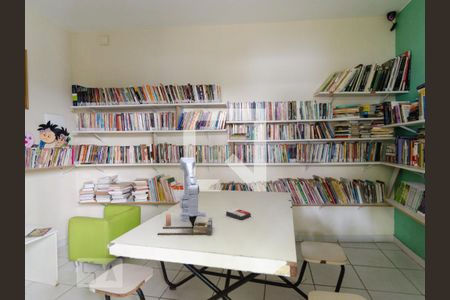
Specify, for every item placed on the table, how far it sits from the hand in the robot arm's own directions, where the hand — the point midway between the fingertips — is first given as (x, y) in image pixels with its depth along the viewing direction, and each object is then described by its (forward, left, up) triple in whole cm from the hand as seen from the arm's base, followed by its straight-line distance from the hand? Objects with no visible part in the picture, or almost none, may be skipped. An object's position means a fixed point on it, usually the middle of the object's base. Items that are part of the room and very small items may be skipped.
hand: (193, 228), depth 121 cm
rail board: (0, -4, -3) cm, 5 cm away
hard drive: (-31, +28, -4) cm, 42 cm away
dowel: (-10, -17, -3) cm, 20 cm away
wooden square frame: (0, +5, -2) cm, 5 cm away
